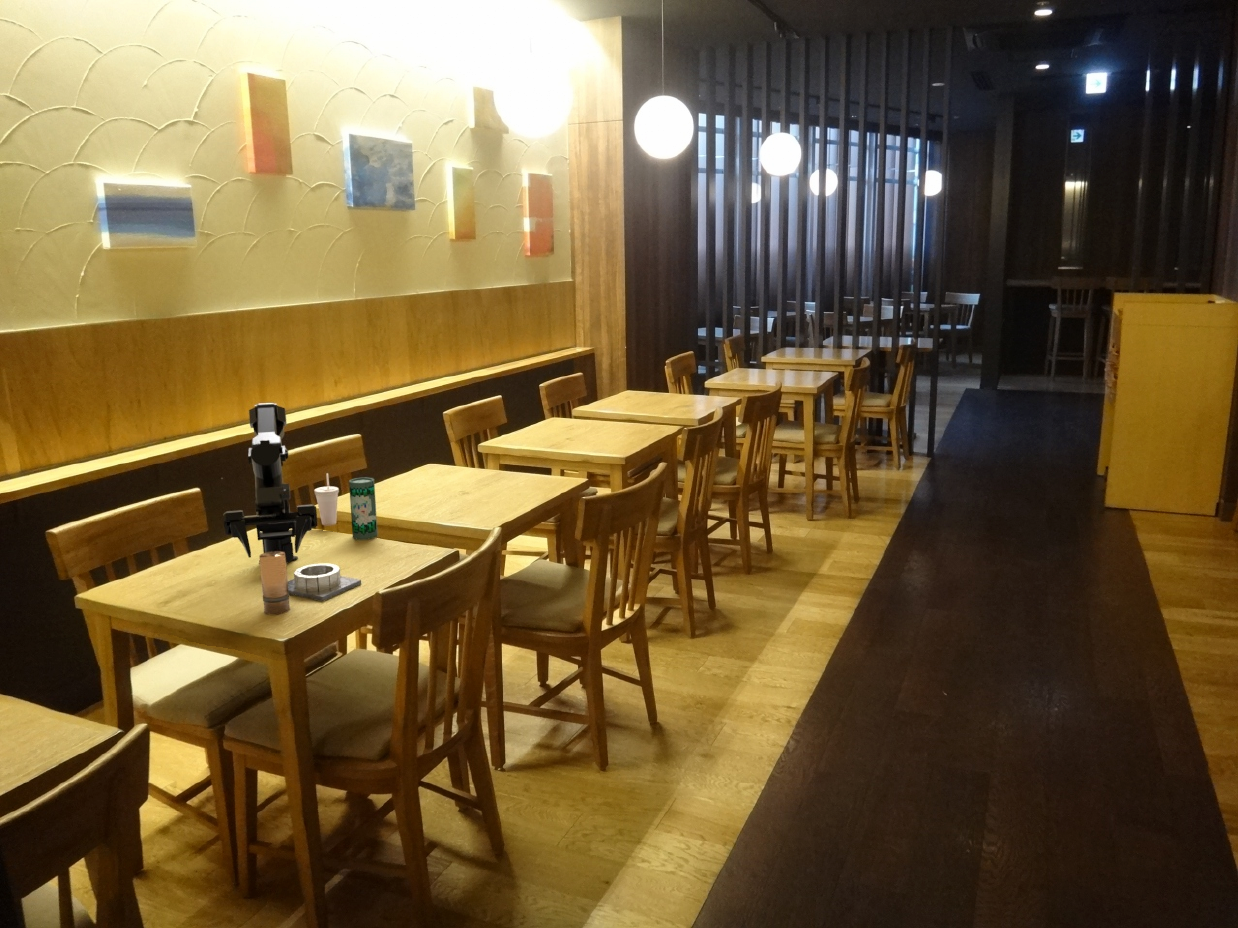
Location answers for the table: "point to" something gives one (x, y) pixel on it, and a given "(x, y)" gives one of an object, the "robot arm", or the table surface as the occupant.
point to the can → (363, 508)
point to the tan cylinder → (274, 582)
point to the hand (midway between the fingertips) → (273, 554)
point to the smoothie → (327, 503)
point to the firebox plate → (326, 592)
